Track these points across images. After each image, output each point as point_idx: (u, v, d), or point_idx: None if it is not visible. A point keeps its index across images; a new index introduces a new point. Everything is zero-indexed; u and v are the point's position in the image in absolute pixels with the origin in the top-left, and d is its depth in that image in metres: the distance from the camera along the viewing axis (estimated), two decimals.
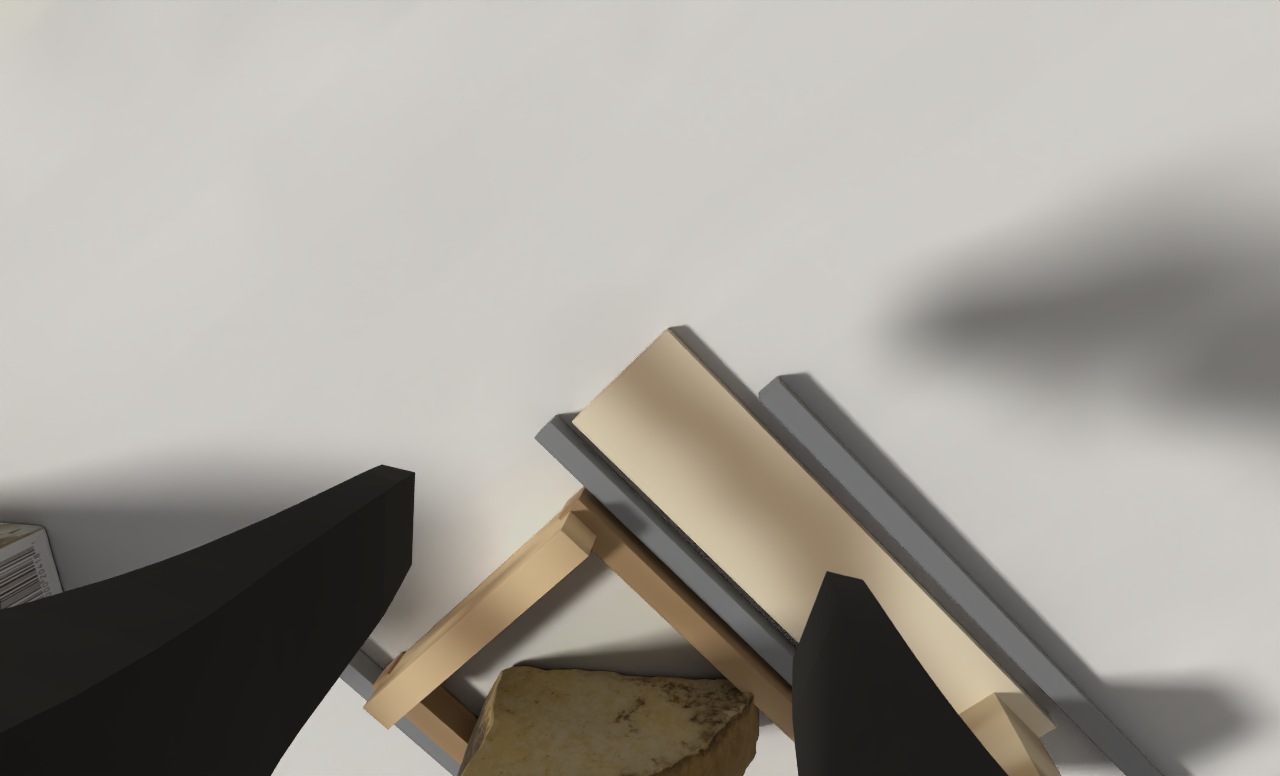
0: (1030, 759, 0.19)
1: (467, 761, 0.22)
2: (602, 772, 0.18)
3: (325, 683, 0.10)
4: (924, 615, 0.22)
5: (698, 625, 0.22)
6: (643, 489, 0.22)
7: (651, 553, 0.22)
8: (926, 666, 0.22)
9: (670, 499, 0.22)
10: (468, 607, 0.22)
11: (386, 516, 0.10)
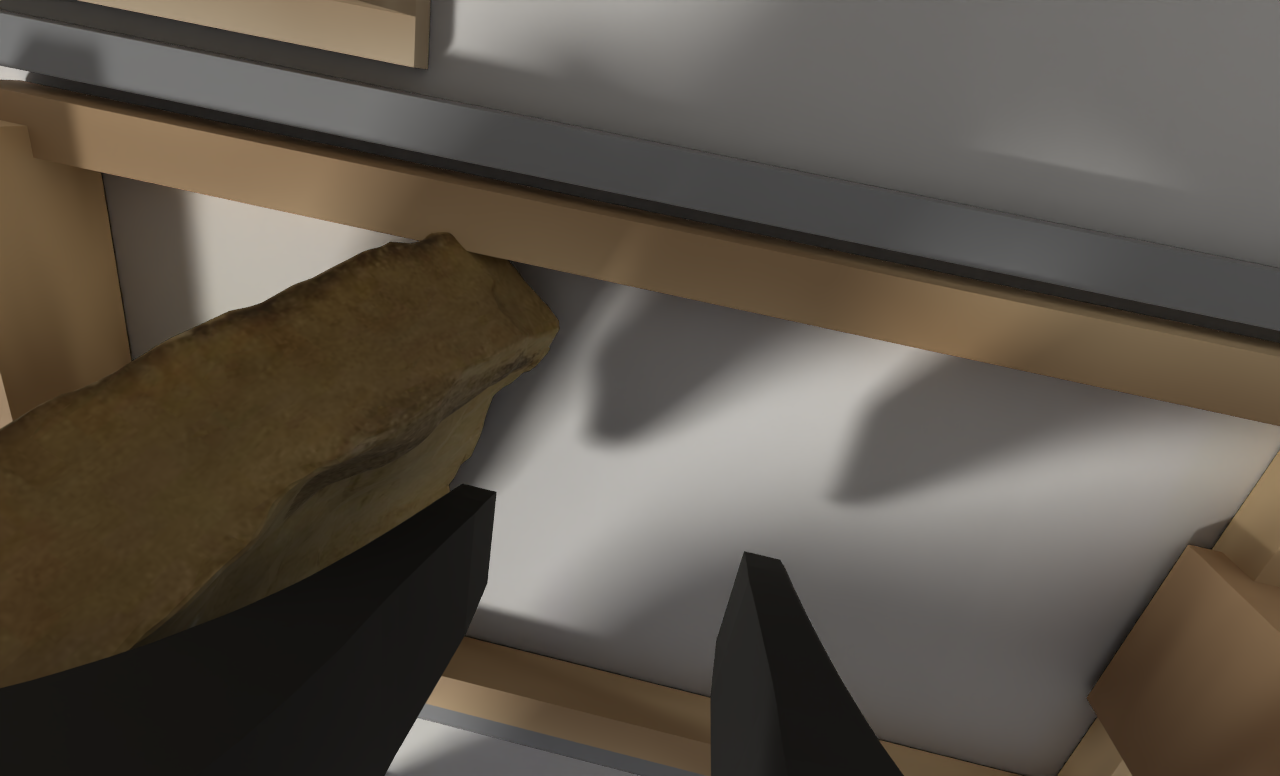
0: None
1: None
2: None
3: (417, 707, 0.10)
4: None
5: (295, 170, 0.10)
6: None
7: (177, 116, 0.11)
8: None
9: None
10: None
11: (474, 537, 0.10)
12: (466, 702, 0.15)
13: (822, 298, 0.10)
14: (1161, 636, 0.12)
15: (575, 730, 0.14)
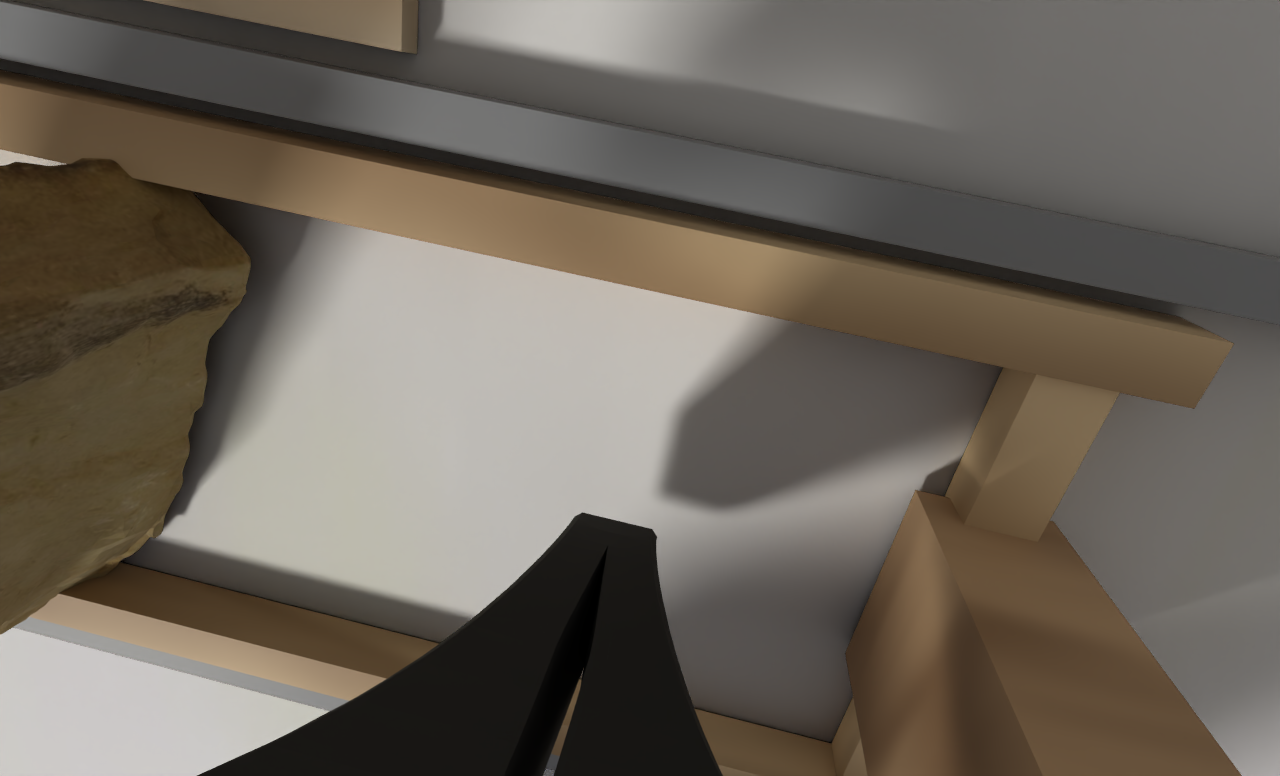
0: None
1: None
2: None
3: (553, 742, 0.09)
4: None
5: None
6: None
7: None
8: None
9: None
10: None
11: (603, 569, 0.10)
12: (232, 658, 0.14)
13: (483, 223, 0.10)
14: (890, 585, 0.12)
15: (341, 687, 0.14)
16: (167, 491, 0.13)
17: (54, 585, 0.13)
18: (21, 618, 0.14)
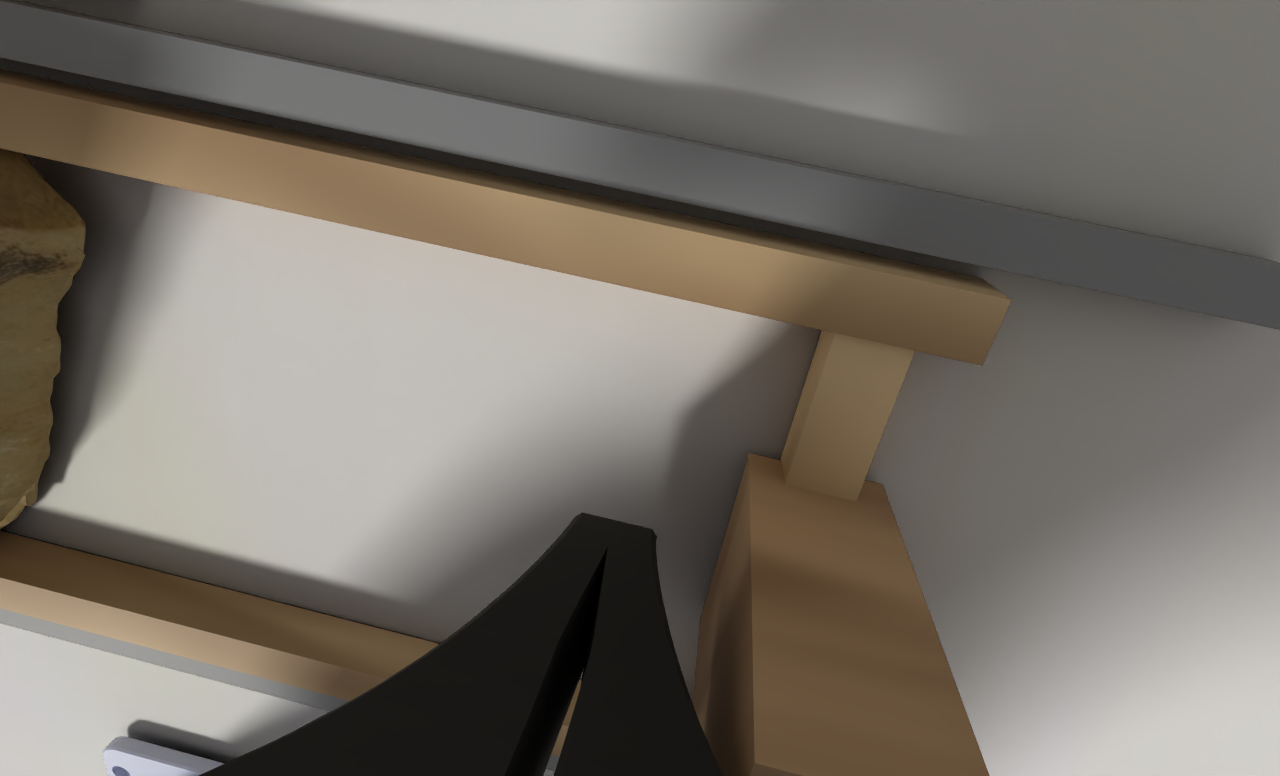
0: None
1: None
2: None
3: (553, 743, 0.09)
4: None
5: None
6: None
7: None
8: None
9: None
10: None
11: (603, 569, 0.10)
12: (107, 625, 0.14)
13: (294, 183, 0.10)
14: (726, 546, 0.12)
15: (213, 653, 0.14)
16: (34, 458, 0.14)
17: None
18: None
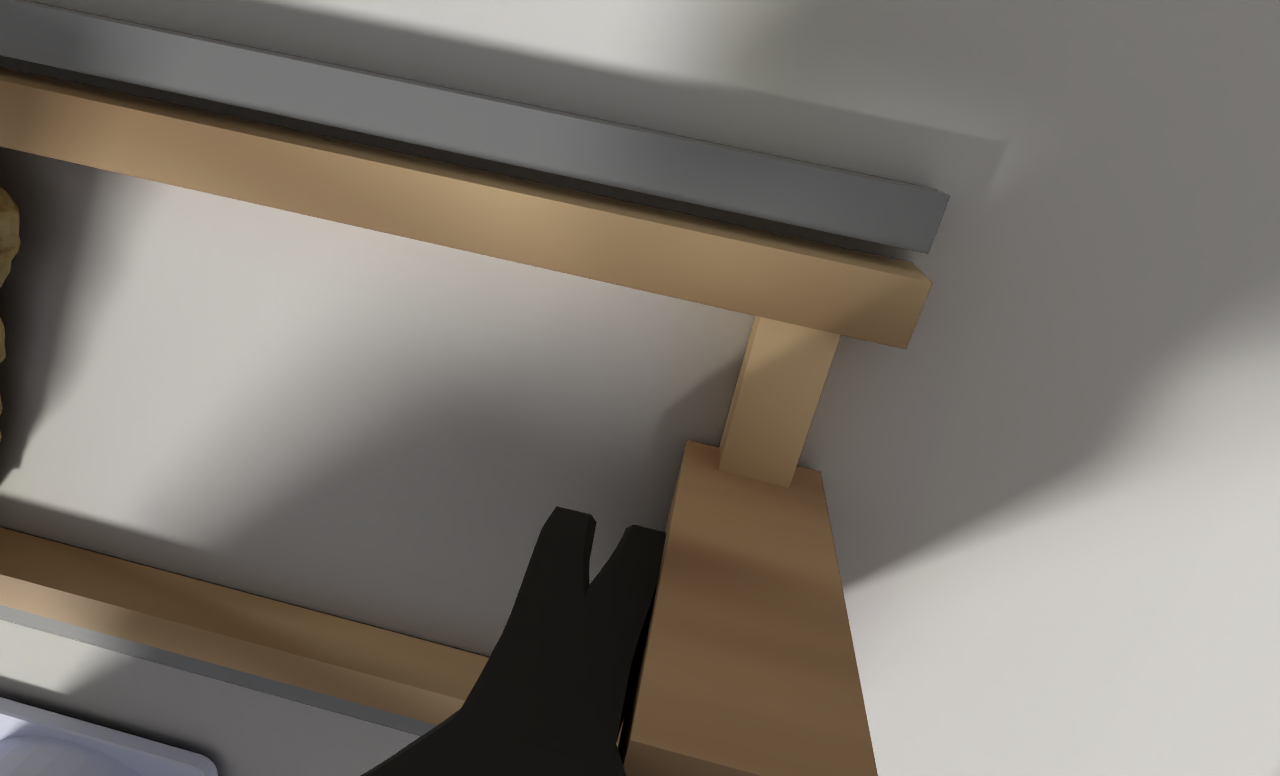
0: None
1: None
2: None
3: None
4: None
5: None
6: None
7: None
8: None
9: None
10: None
11: None
12: (62, 610, 0.15)
13: (220, 166, 0.10)
14: None
15: (166, 639, 0.14)
16: None
17: None
18: None
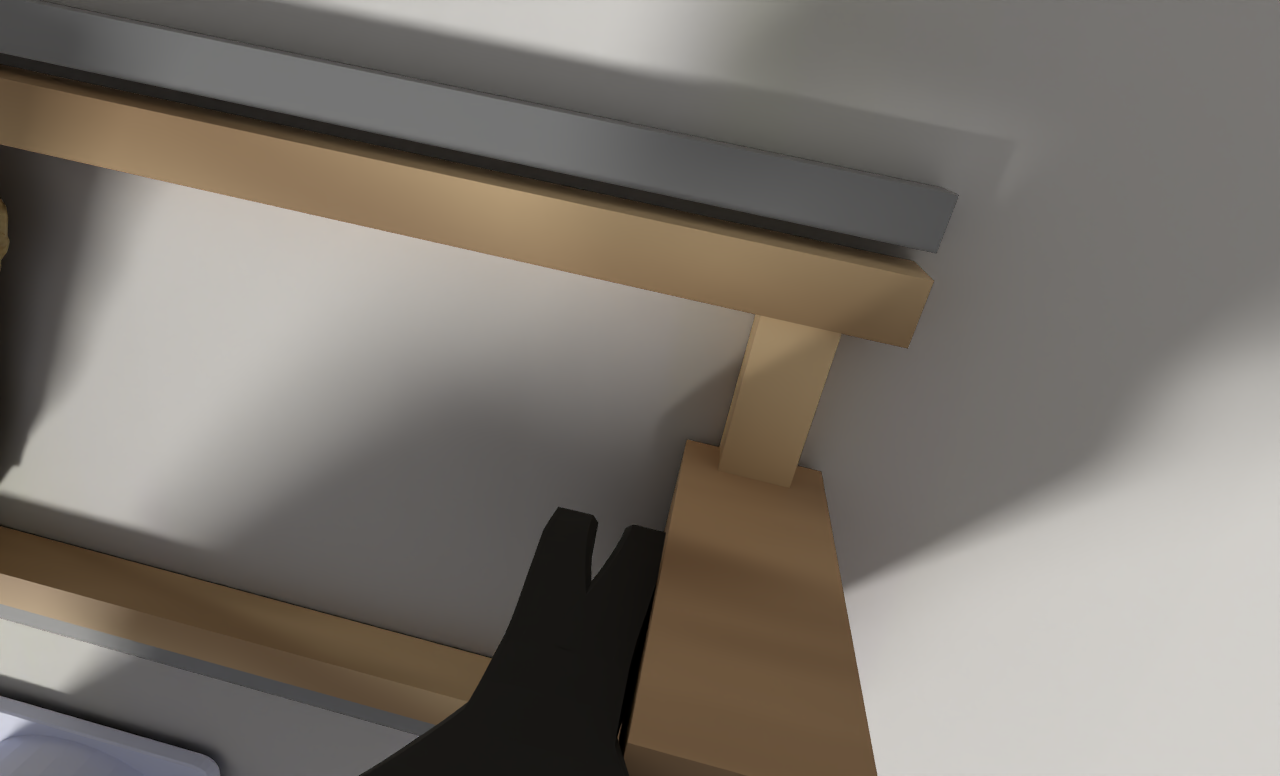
0: None
1: None
2: None
3: None
4: None
5: None
6: None
7: None
8: None
9: None
10: None
11: None
12: (61, 609, 0.15)
13: (218, 163, 0.10)
14: None
15: (165, 638, 0.14)
16: None
17: None
18: None
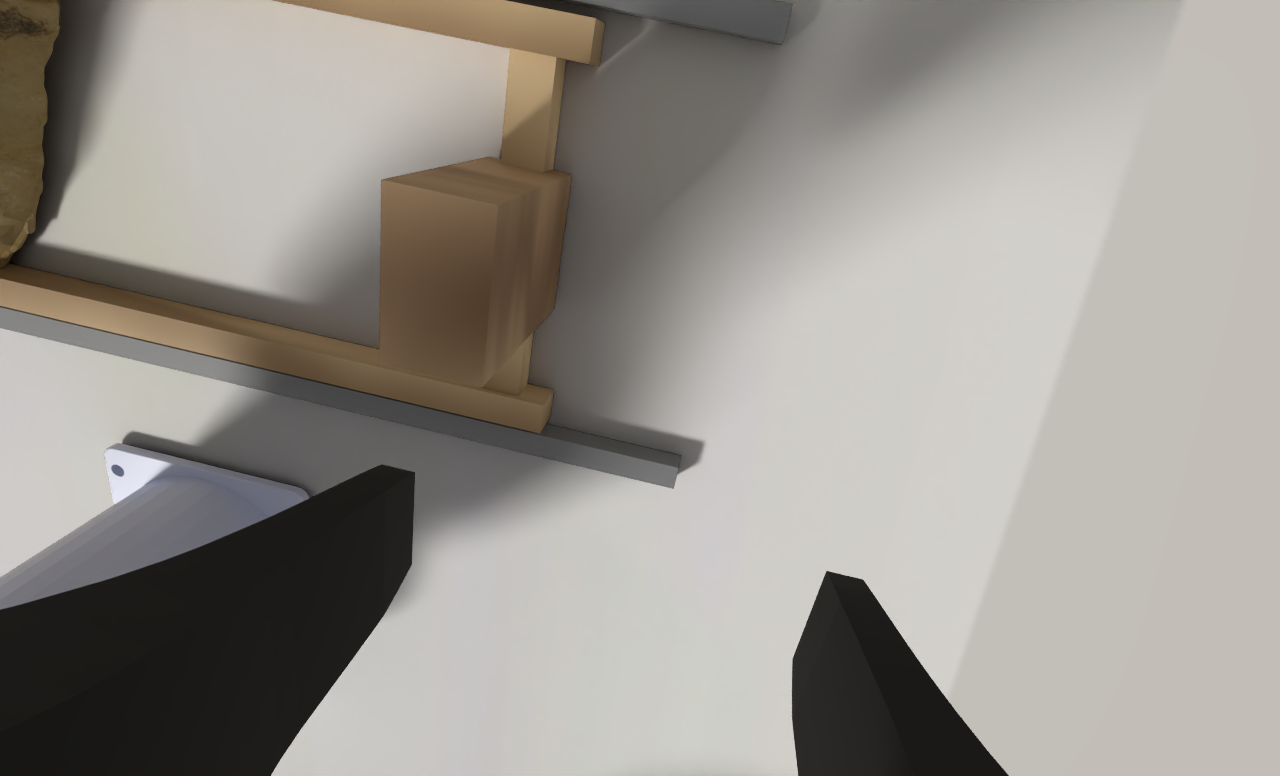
0: None
1: None
2: None
3: (325, 683, 0.10)
4: None
5: None
6: None
7: None
8: None
9: None
10: None
11: (386, 516, 0.10)
12: (85, 315, 0.21)
13: None
14: None
15: (157, 333, 0.21)
16: (32, 189, 0.20)
17: None
18: None
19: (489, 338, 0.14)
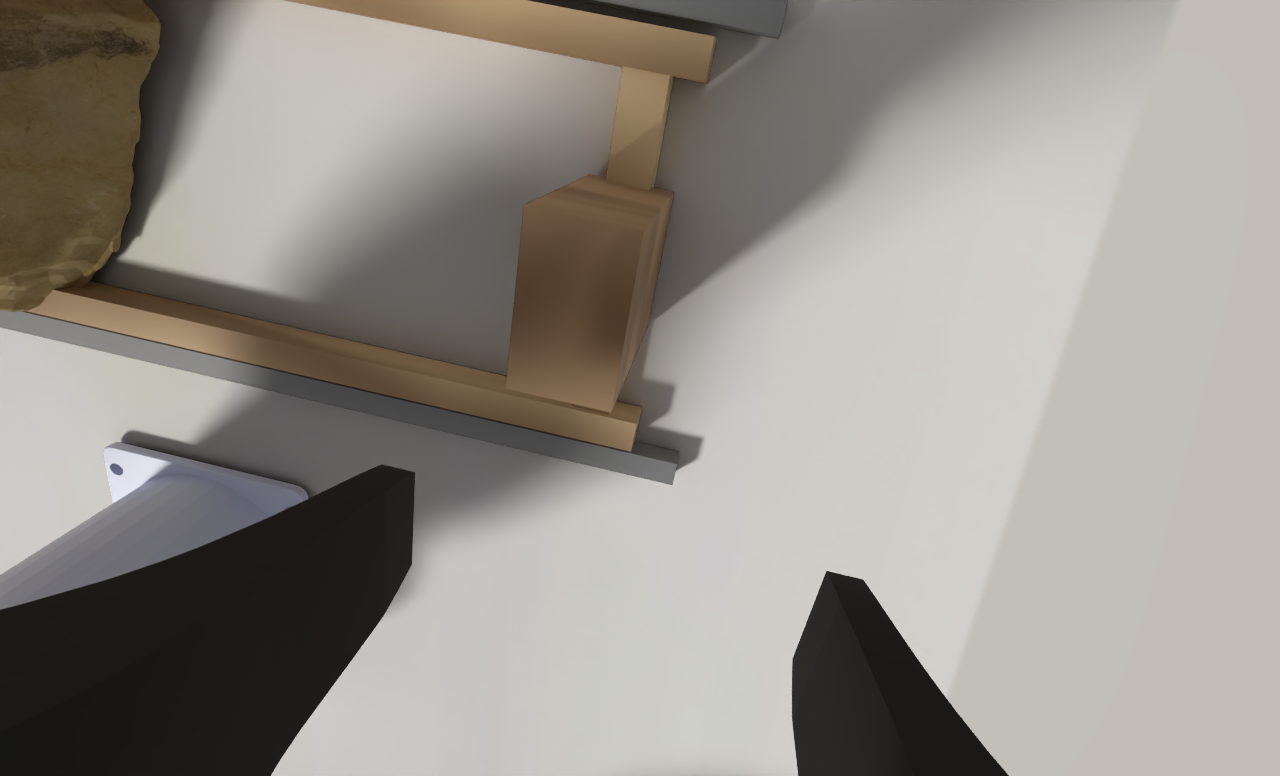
0: None
1: None
2: None
3: (325, 683, 0.10)
4: None
5: None
6: None
7: None
8: None
9: None
10: None
11: (386, 516, 0.10)
12: (169, 334, 0.21)
13: None
14: None
15: (242, 351, 0.21)
16: (120, 208, 0.20)
17: (45, 263, 0.19)
18: (26, 303, 0.21)
19: (621, 364, 0.14)
